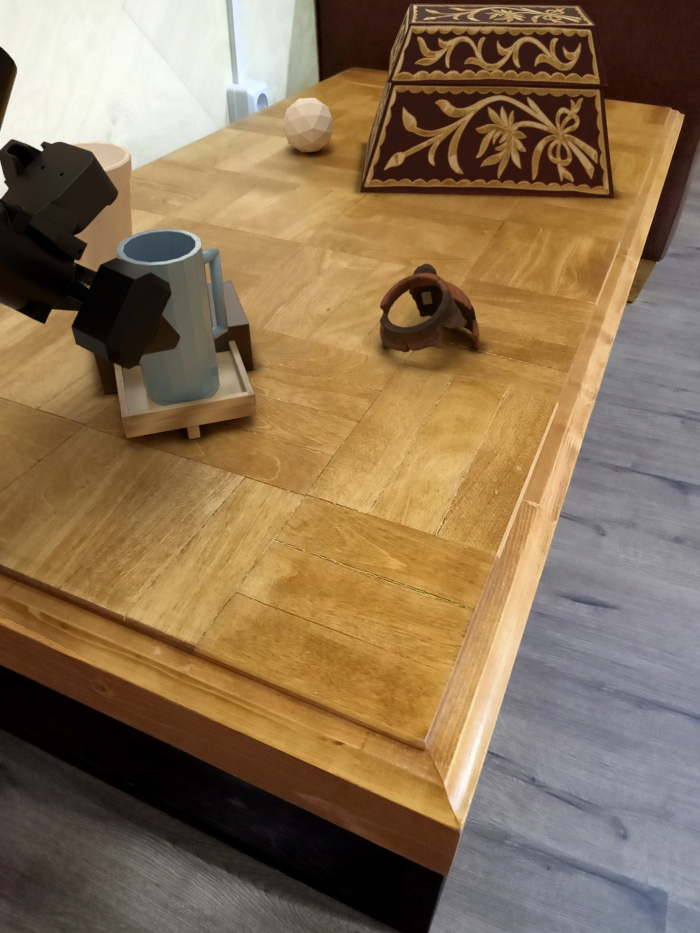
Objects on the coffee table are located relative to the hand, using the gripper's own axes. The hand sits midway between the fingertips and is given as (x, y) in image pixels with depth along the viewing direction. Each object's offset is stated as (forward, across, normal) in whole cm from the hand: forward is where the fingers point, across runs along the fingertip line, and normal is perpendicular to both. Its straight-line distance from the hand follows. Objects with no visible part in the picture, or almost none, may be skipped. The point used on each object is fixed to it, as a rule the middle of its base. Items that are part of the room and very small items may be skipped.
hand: (136, 323), depth 61 cm
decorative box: (+58, +10, -43) cm, 73 cm away
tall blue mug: (+9, 0, +2) cm, 9 cm away
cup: (+19, +27, -4) cm, 33 cm away
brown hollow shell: (+26, -10, -12) cm, 31 cm away
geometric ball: (+51, +35, -37) cm, 72 cm away
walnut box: (+12, +4, +3) cm, 13 cm away
